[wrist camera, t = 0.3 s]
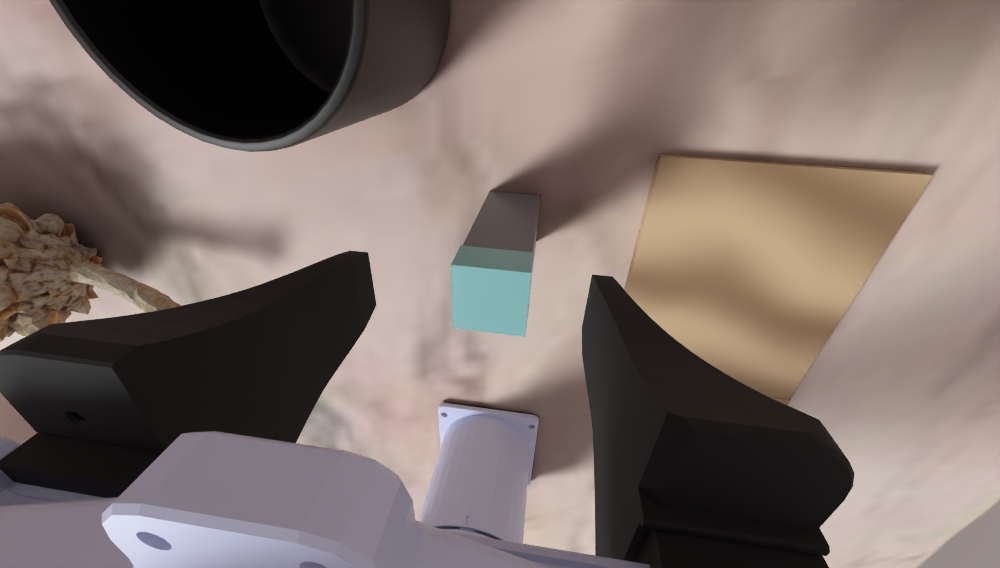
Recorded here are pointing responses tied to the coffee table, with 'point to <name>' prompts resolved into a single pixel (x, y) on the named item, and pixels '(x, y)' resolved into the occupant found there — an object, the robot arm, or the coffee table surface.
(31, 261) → the pine cone
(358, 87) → the mug
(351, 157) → the coffee table surface
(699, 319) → the tan rectangular board
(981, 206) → the coffee table surface
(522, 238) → the teal block
